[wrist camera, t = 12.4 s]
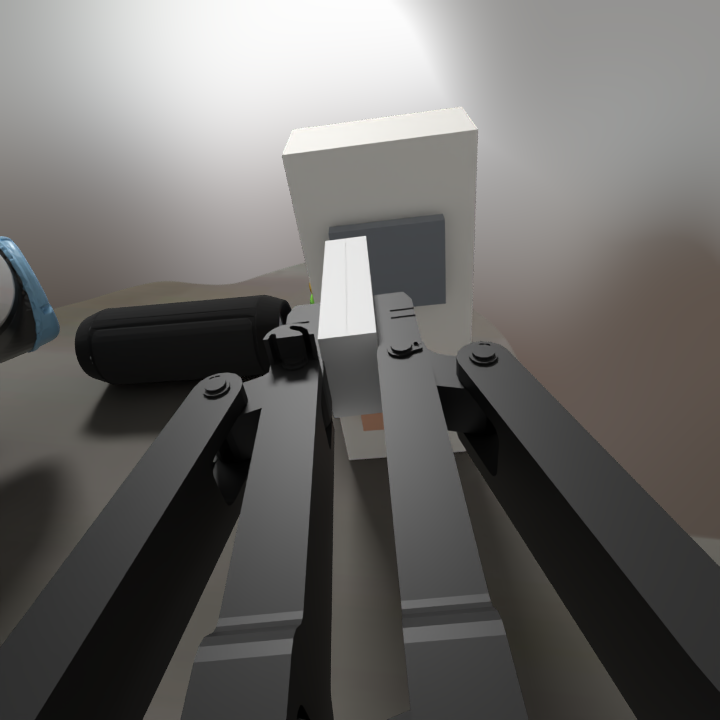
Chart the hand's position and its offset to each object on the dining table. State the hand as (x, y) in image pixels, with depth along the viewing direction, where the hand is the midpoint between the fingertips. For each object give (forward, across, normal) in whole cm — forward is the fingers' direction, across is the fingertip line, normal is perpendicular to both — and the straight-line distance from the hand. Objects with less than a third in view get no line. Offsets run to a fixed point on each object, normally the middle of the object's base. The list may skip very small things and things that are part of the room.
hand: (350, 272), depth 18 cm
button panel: (+20, +2, -28) cm, 34 cm away
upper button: (+17, +2, -10) cm, 20 cm away
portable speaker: (+35, -23, -28) cm, 50 cm away
